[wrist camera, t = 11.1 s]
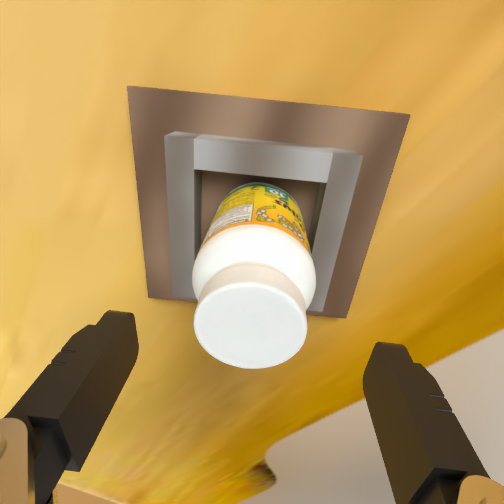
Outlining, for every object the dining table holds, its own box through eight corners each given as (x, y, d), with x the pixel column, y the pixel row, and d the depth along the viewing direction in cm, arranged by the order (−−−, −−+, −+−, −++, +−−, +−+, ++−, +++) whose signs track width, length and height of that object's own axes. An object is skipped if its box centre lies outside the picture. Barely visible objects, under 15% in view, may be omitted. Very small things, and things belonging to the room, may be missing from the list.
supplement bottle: (201, 204, 18) (139, 300, 10) (279, 163, 17) (285, 235, 8) (243, 270, 21) (222, 396, 12) (315, 239, 19) (350, 357, 11)
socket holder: (403, 113, 16) (428, 117, 14) (343, 309, 23) (352, 338, 20) (134, 86, 16) (108, 84, 14) (153, 289, 23) (137, 315, 20)
